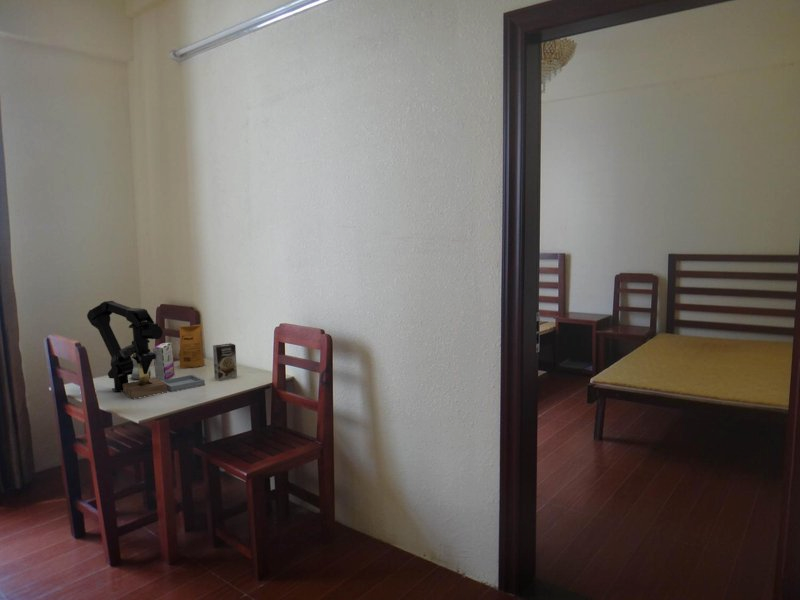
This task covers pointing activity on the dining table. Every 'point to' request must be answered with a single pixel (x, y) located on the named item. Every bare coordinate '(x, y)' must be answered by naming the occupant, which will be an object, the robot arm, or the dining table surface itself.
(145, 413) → the dining table surface
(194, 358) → the coffee package
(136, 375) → the air freshener
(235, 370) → the coffee box
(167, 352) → the candy bar box
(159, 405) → the dining table surface
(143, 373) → the pin
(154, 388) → the hitch block
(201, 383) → the tray
